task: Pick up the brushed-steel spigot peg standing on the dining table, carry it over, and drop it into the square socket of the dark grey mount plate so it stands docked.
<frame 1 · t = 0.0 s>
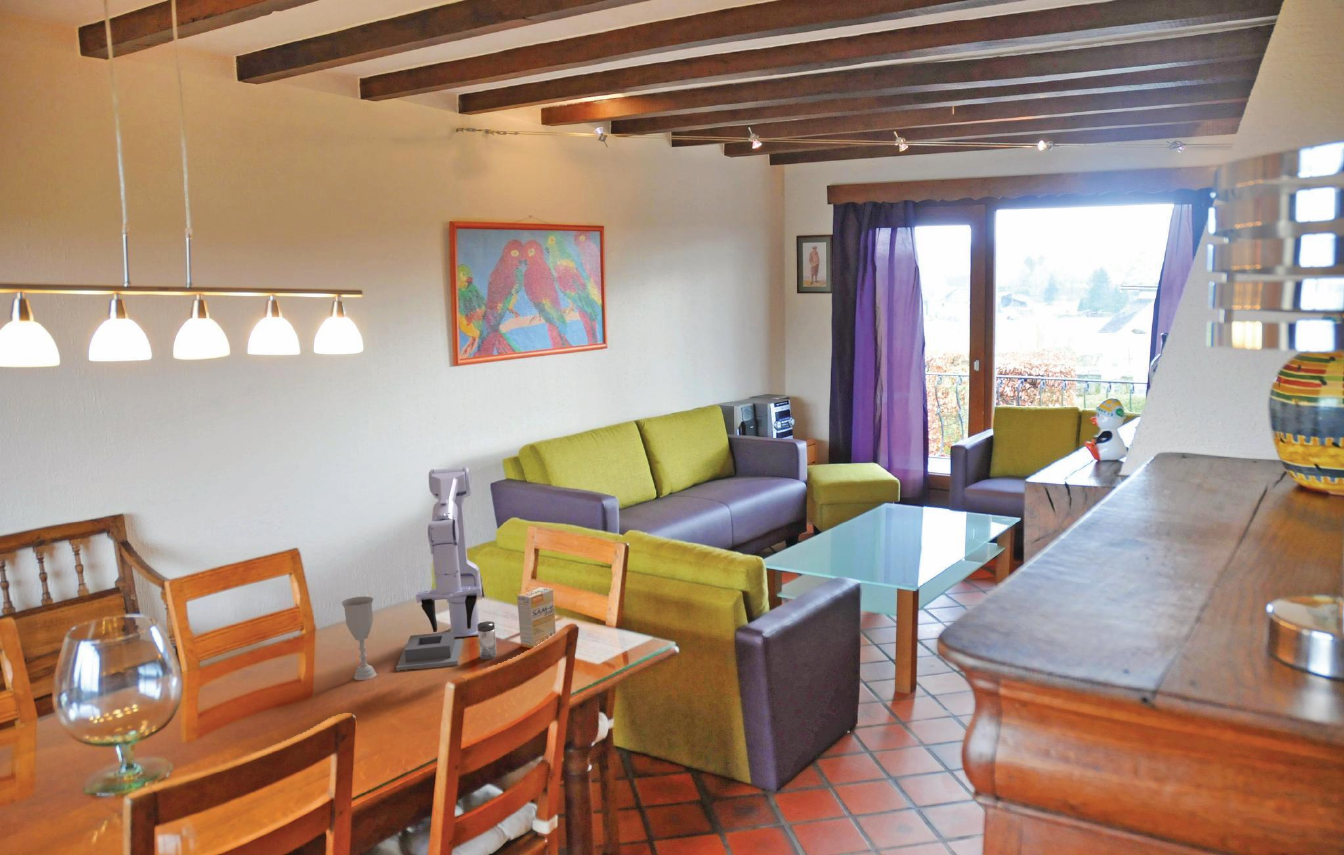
hand: (452, 629, 232), 10 cm above the table, tool pointing down, fingers open, 7 cm apart
supplement box: (539, 643, 250), on the table
socket mount: (431, 656, 245), on the table
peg: (488, 656, 242), on the table
chalice: (365, 676, 234), on the table
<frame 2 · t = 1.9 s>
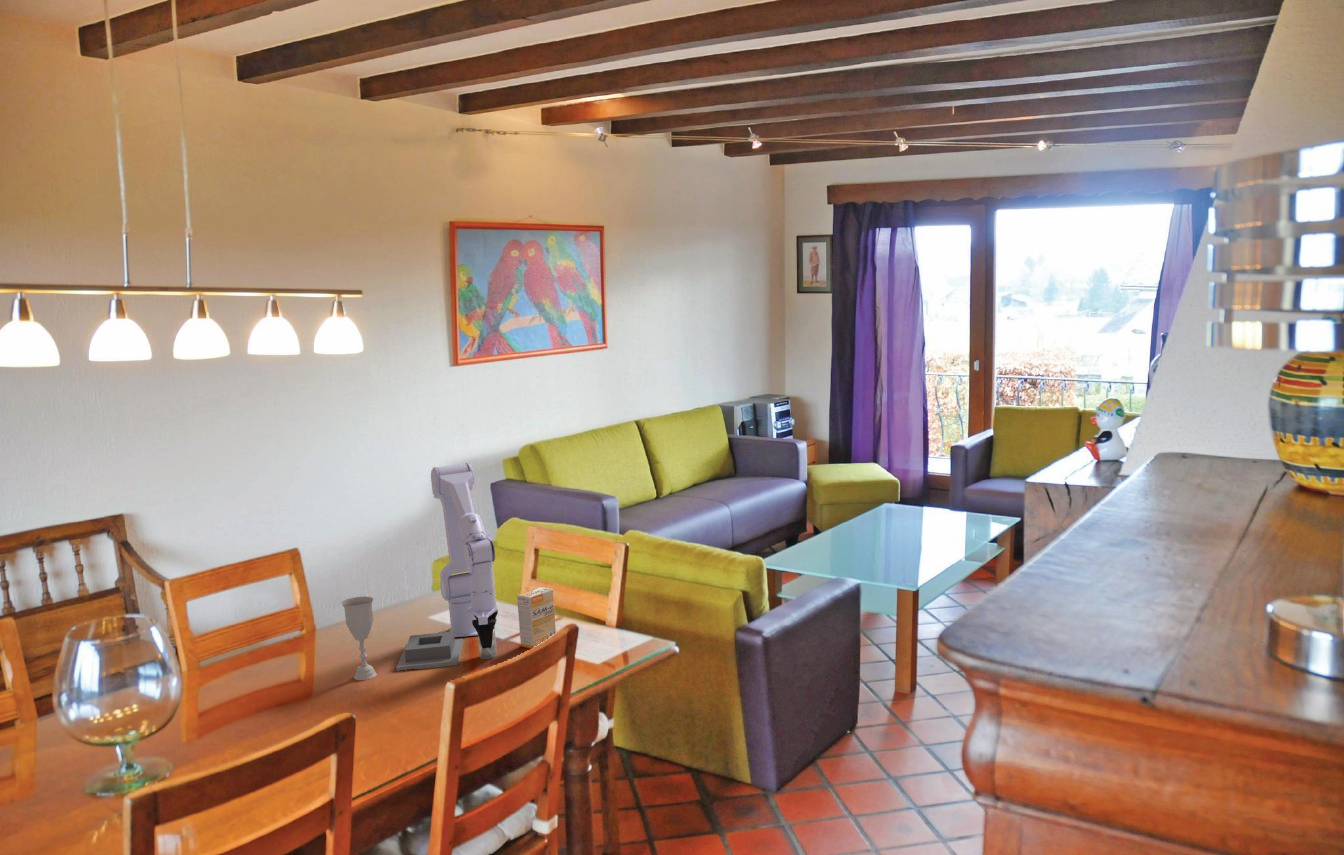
hand: (487, 644, 242), 3 cm above the table, tool pointing down, fingers closed on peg, 4 cm apart
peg: (488, 656, 242), on the table, touching gripper
everything else where it was.
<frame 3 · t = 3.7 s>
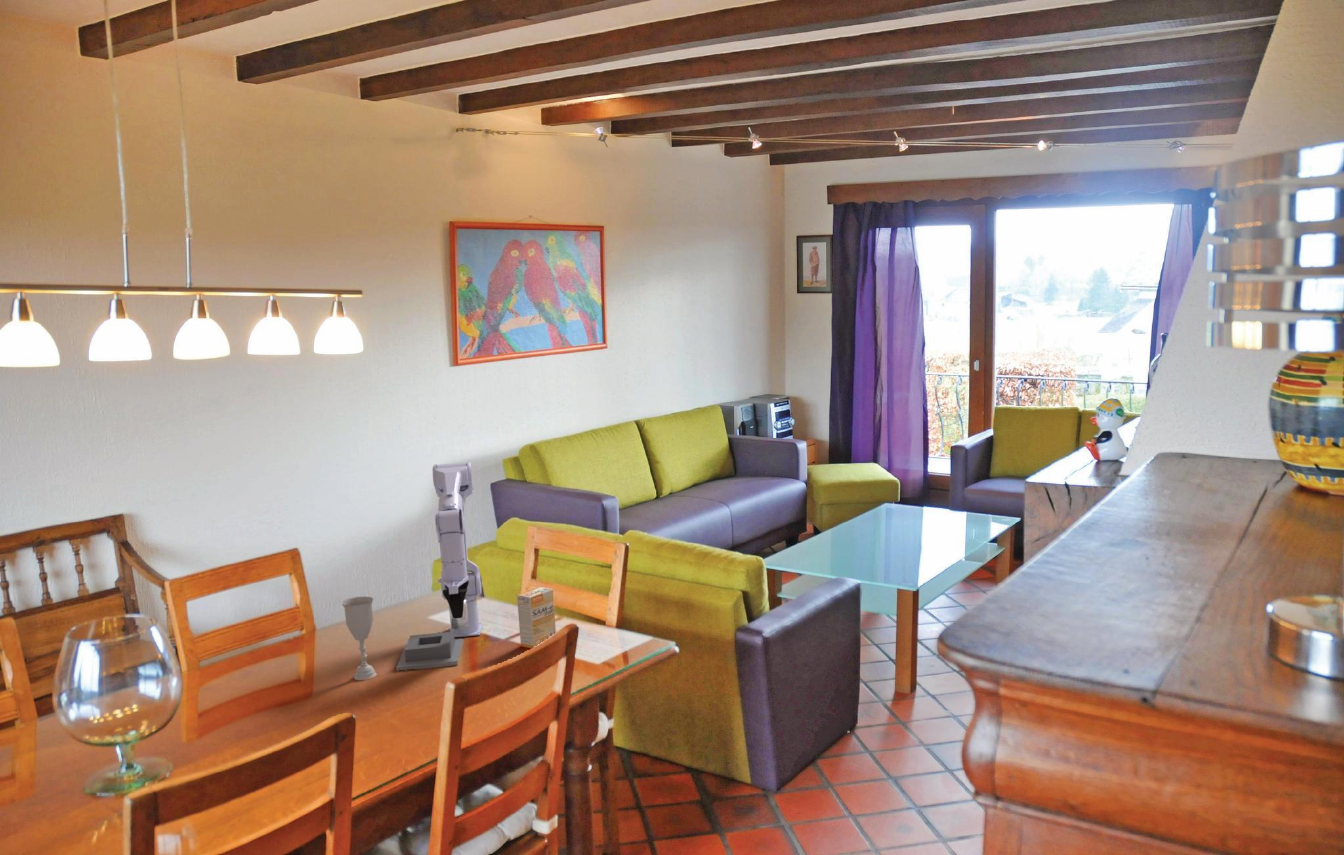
hand: (458, 614, 242), 10 cm above the table, tool pointing down, fingers closed on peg, 4 cm apart
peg: (460, 626, 243), point 7 cm above the table, touching gripper
everything else where it was.
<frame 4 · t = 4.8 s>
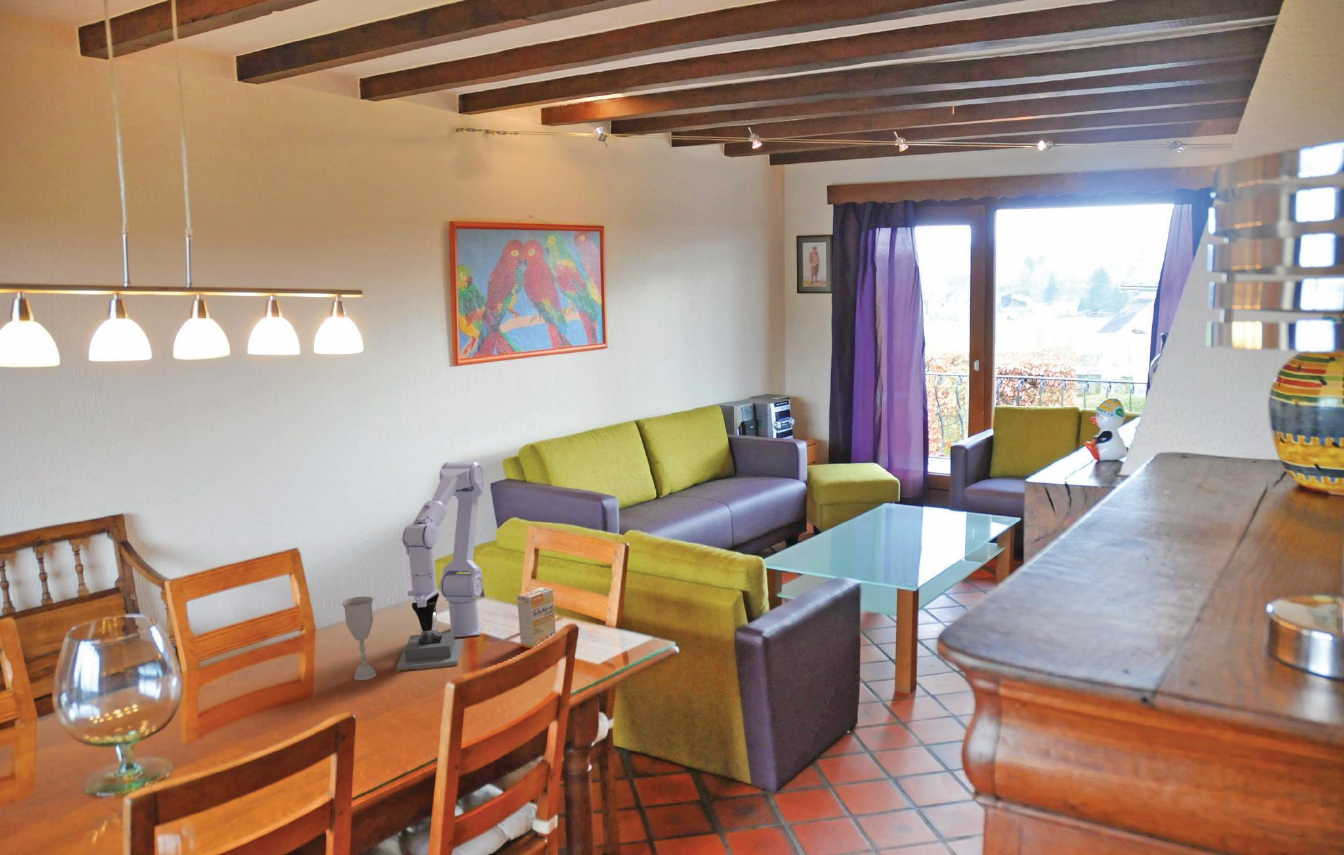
hand: (428, 627, 244), 7 cm above the table, tool pointing down, fingers closed on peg, 4 cm apart
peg: (429, 639, 244), point 4 cm above the table, touching gripper
everything else where it was.
when the fingers open (5 cm above the table, at t = 5.5 s): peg drops 1 cm, resting on socket mount.
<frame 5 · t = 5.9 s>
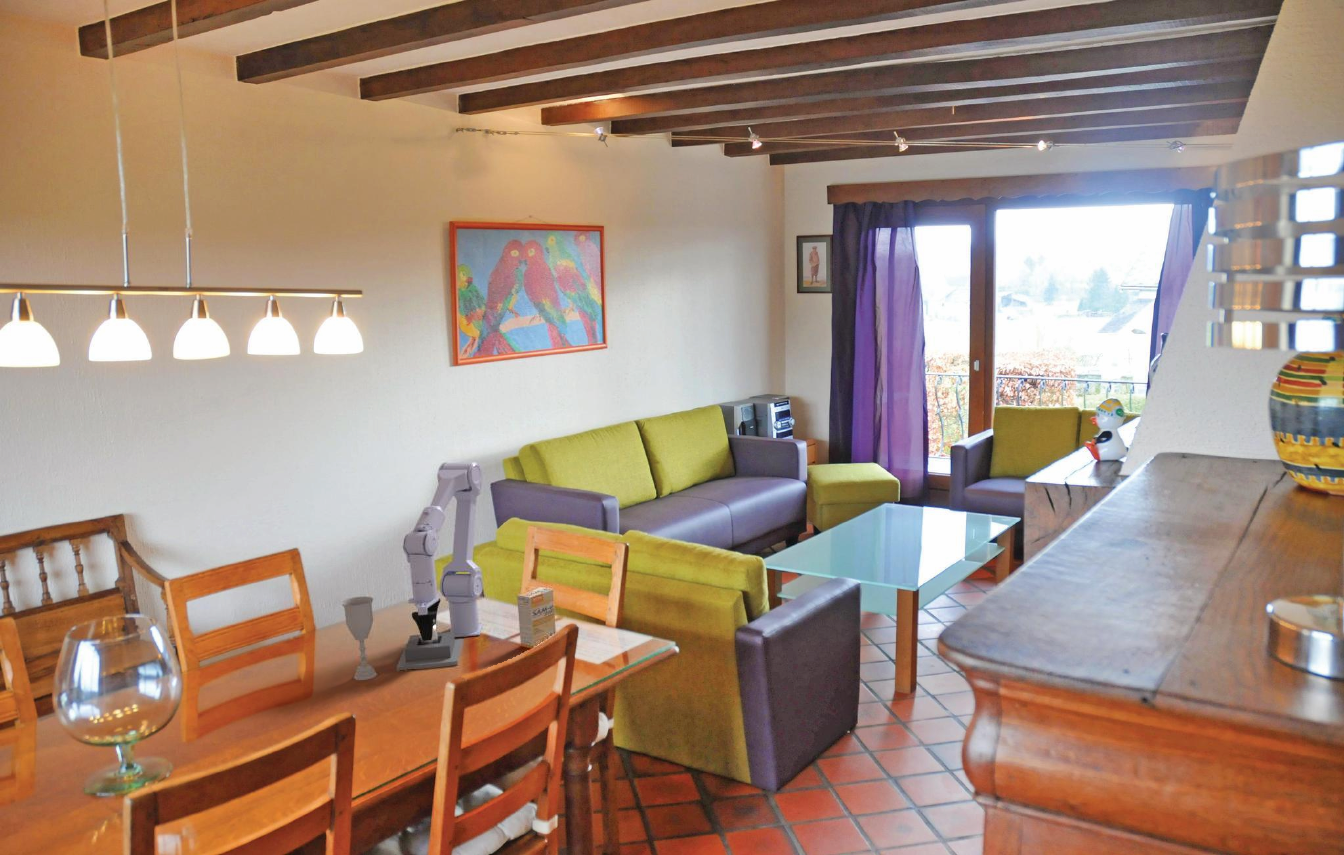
hand: (429, 634, 244), 5 cm above the table, tool pointing down, fingers open, 7 cm apart
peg: (431, 652, 245), point 1 cm above the table, touching socket mount
everything else where it was.
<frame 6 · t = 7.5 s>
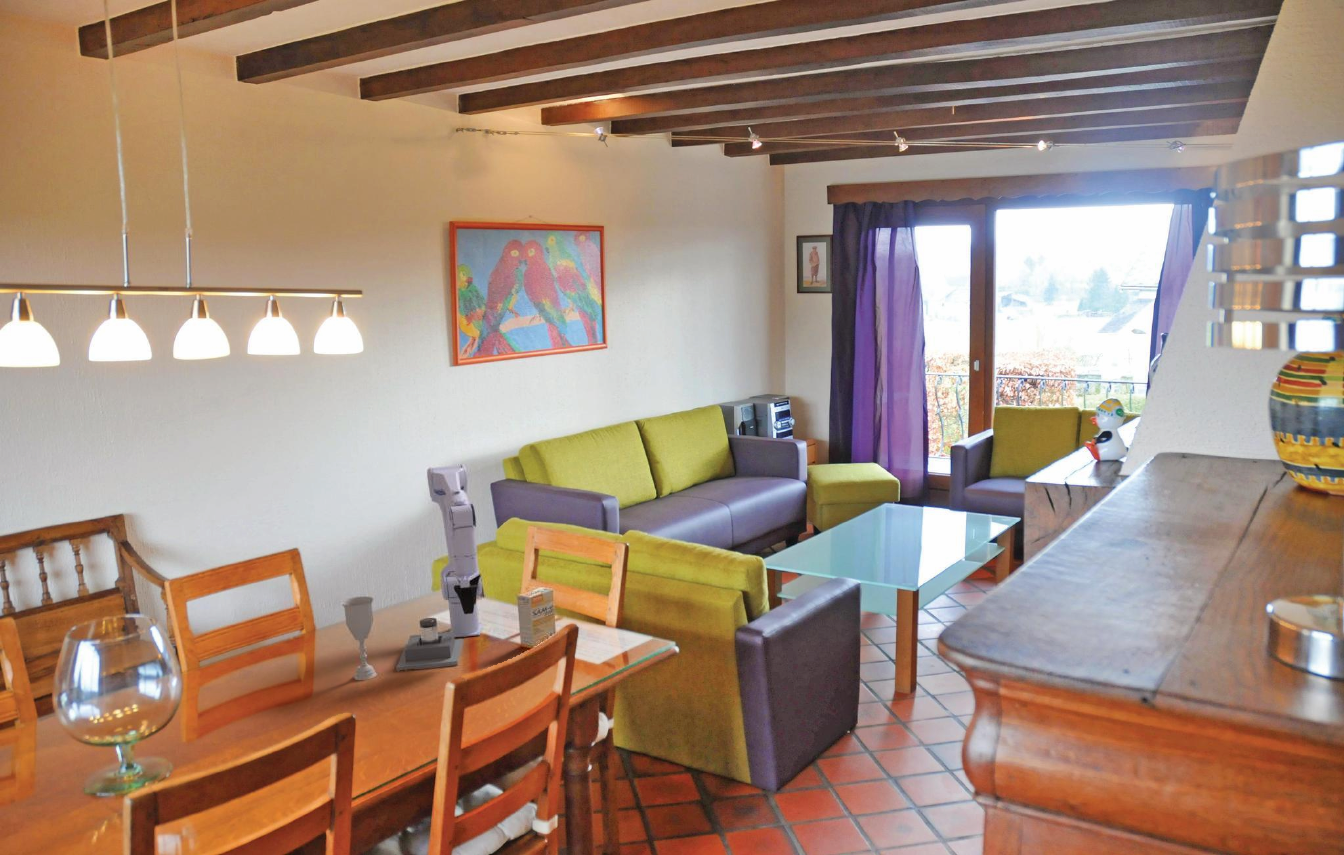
hand: (470, 608, 246), 10 cm above the table, tool pointing down, fingers open, 7 cm apart
nothing on the table moved.
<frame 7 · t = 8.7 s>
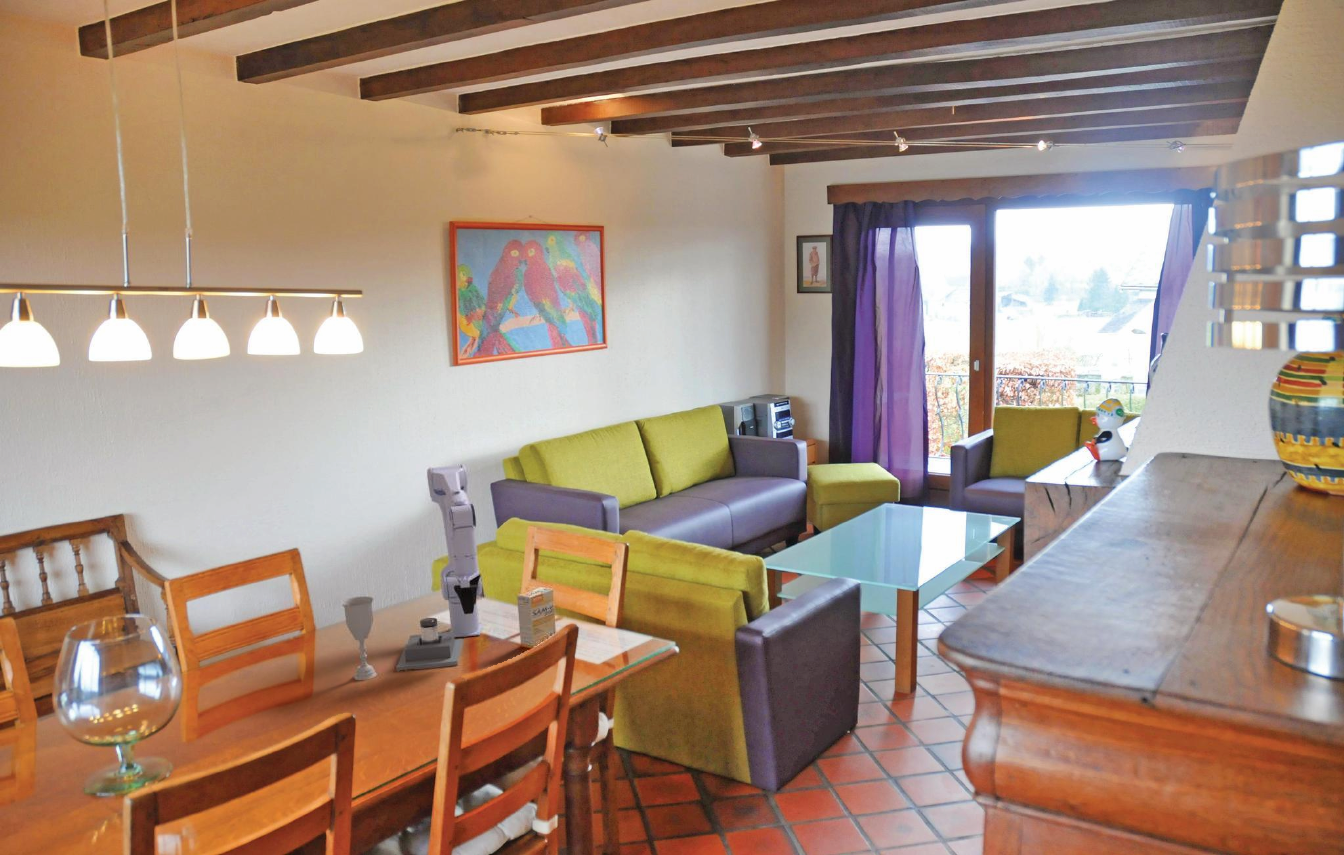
hand: (470, 608, 246), 10 cm above the table, tool pointing down, fingers open, 7 cm apart
nothing on the table moved.
at the end: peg 0.1 cm off-centre on the socket mount, point 1.0 cm above the socket mount's base; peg tilted 1°; the gripper is holding nothing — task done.
